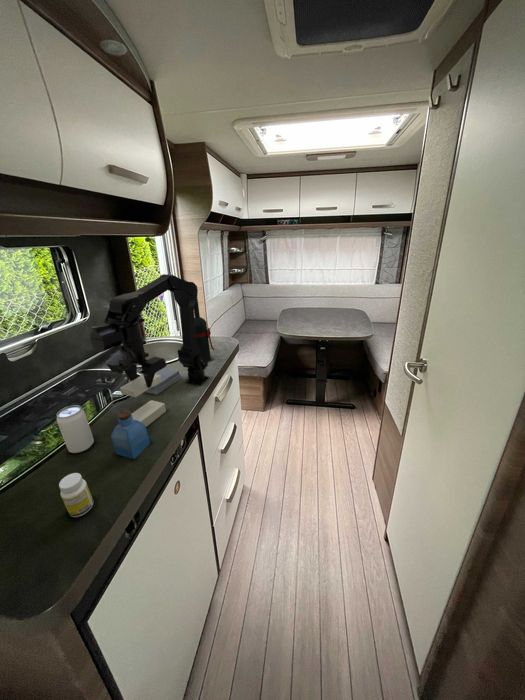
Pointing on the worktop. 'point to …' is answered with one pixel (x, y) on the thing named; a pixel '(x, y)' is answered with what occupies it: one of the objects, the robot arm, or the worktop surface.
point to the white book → (138, 386)
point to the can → (75, 428)
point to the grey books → (164, 380)
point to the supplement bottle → (76, 495)
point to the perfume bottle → (129, 436)
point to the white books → (149, 412)
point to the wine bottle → (202, 334)
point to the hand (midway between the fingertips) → (141, 385)
